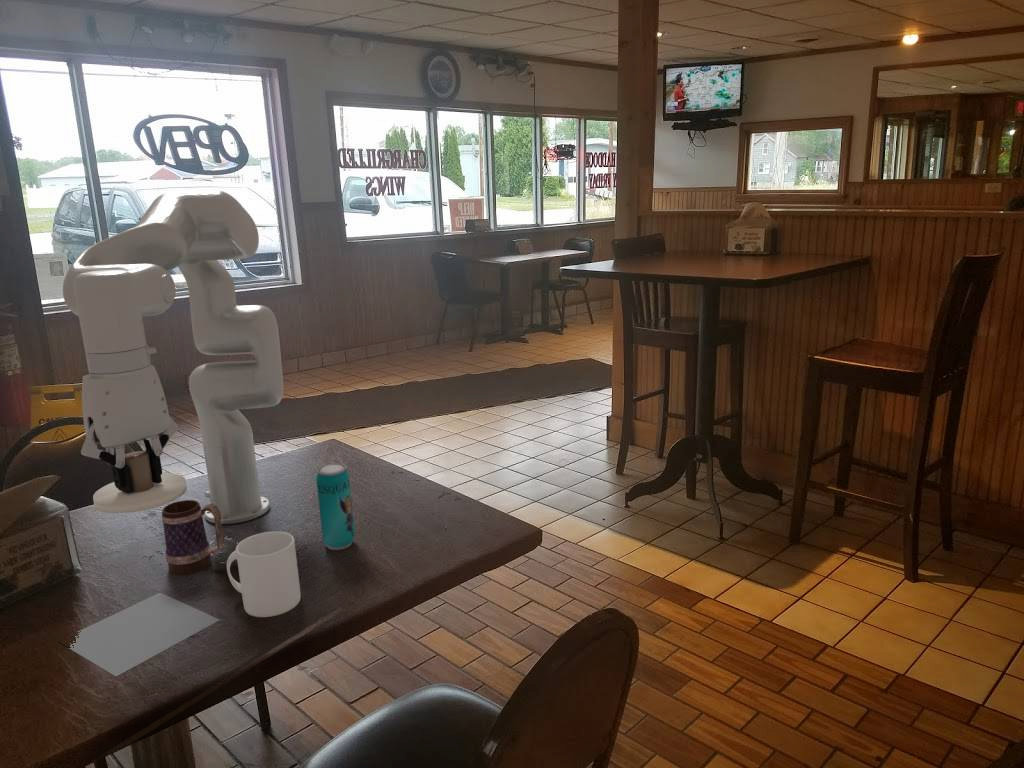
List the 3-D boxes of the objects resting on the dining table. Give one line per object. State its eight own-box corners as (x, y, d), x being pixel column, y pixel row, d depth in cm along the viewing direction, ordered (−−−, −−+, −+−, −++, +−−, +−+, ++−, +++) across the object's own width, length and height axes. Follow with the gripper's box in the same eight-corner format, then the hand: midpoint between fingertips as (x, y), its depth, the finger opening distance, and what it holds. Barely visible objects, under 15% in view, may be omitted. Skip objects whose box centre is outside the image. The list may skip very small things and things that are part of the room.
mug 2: (248, 586, 123) (240, 526, 121) (311, 595, 120) (304, 534, 117) (214, 613, 115) (204, 550, 113) (280, 624, 112) (272, 559, 109)
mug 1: (160, 577, 127) (149, 512, 125) (182, 558, 134) (173, 496, 131) (216, 579, 126) (206, 513, 123) (236, 559, 133) (227, 496, 130)
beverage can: (347, 552, 134) (339, 474, 130) (318, 550, 135) (309, 473, 131) (360, 538, 139) (353, 463, 136) (331, 537, 140) (323, 462, 137)
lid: (78, 502, 105) (69, 461, 104) (157, 475, 115) (151, 436, 113) (122, 520, 99) (114, 476, 97) (203, 489, 108) (197, 449, 107)
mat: (58, 644, 109) (57, 641, 108) (160, 595, 121) (160, 592, 121) (116, 680, 100) (116, 676, 100) (220, 623, 113) (220, 619, 112)
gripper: (160, 347, 111) (179, 464, 115) (41, 371, 98) (67, 501, 102) (189, 352, 106) (207, 472, 111) (68, 377, 93) (94, 512, 98)
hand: (140, 485), depth 106 cm, fingers closed on lid, 3 cm apart
